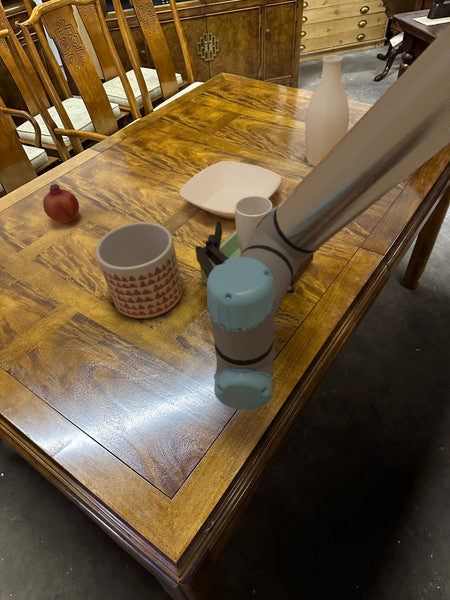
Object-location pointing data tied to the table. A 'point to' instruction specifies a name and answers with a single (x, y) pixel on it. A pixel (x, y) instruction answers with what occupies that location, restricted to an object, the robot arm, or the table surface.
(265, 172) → the bowl
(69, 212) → the fruit
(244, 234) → the white cup
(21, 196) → the table surface
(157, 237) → the planter
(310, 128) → the bottle
